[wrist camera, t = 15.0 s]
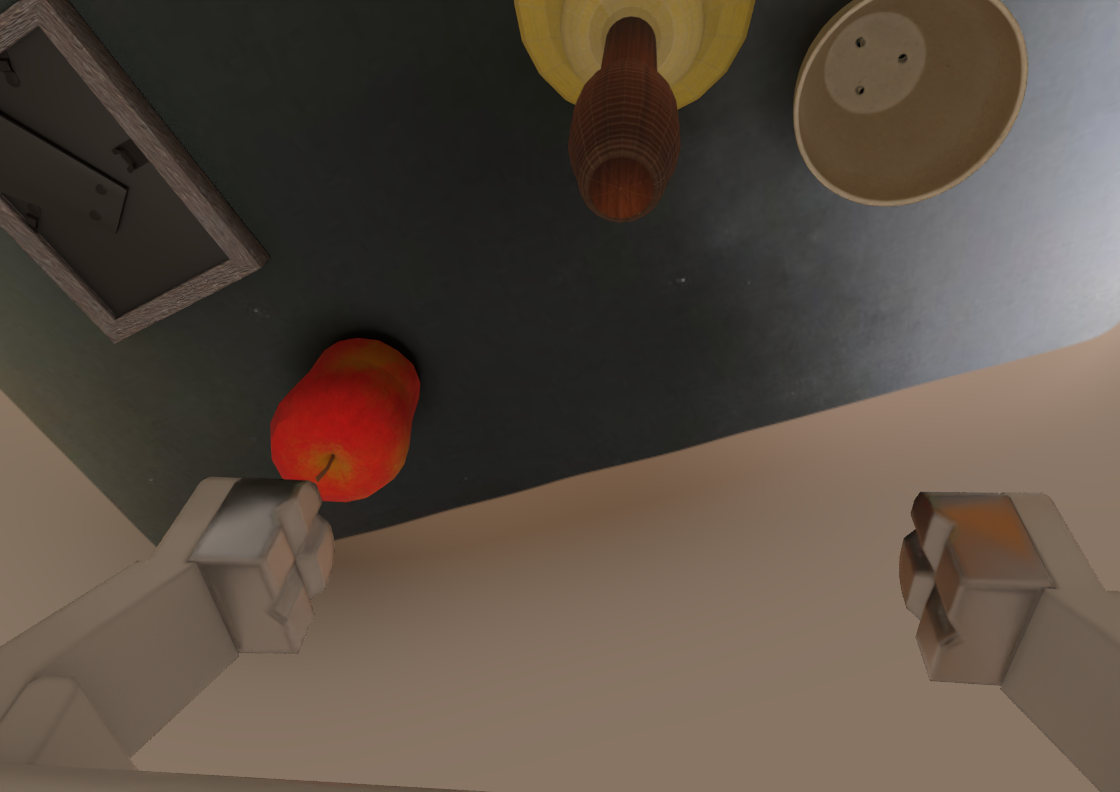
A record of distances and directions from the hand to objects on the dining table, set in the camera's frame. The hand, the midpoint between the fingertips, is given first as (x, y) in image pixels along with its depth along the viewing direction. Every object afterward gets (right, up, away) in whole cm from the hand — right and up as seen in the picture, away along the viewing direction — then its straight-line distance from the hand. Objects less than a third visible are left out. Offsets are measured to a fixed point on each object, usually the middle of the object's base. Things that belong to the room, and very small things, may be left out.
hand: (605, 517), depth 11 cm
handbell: (+3, +22, +31) cm, 38 cm away
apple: (-14, +4, +46) cm, 48 cm away
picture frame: (-29, +15, +39) cm, 51 cm away
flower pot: (+16, +19, +31) cm, 40 cm away
